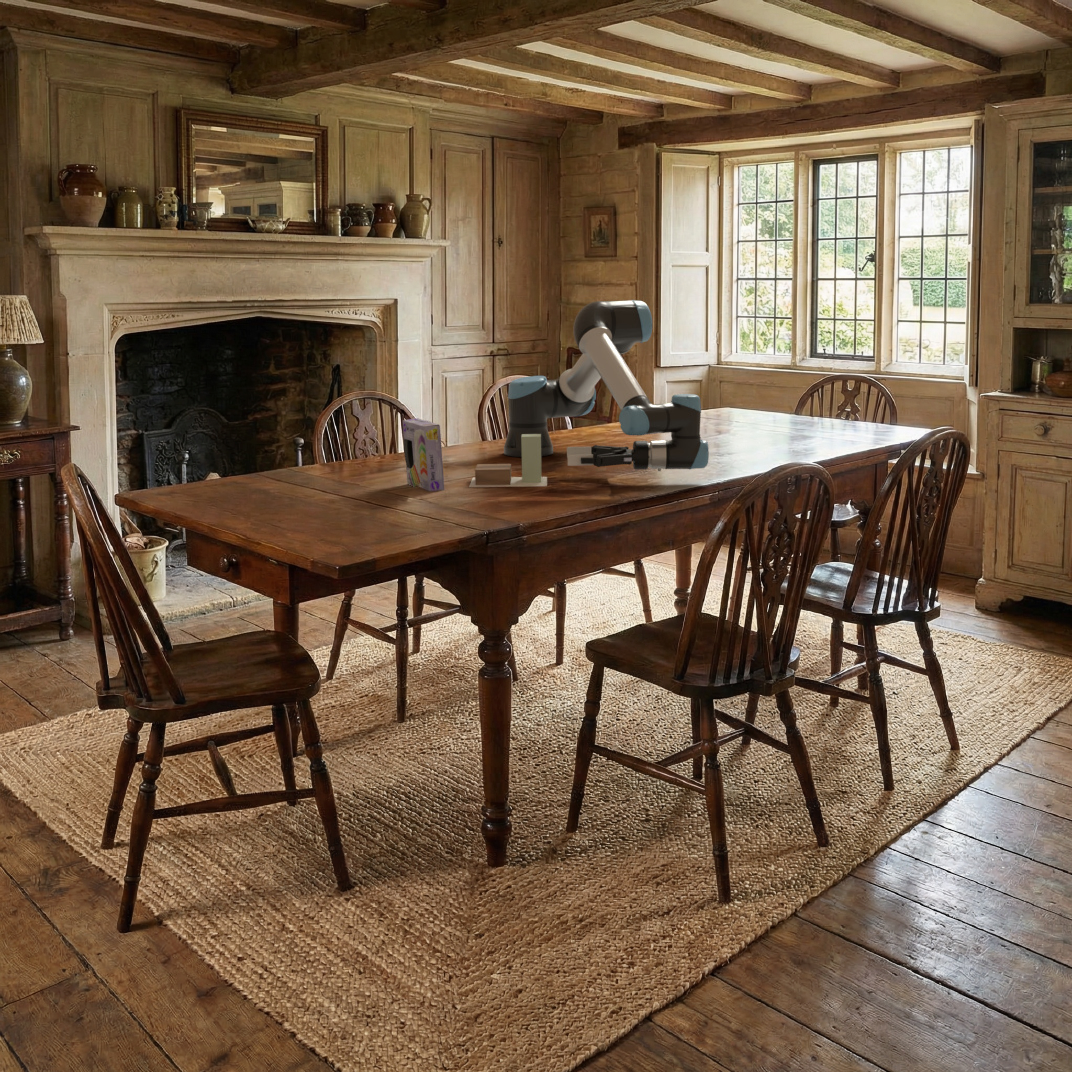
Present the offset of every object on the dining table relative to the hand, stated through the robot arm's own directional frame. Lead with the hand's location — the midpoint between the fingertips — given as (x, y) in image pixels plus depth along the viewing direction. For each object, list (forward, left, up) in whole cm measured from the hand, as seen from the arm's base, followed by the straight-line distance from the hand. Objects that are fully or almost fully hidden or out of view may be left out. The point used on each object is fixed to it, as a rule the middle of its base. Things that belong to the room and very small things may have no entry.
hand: (567, 456), depth 304 cm
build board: (+1, -15, -7) cm, 17 cm away
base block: (+1, -19, -6) cm, 20 cm away
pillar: (0, -9, -6) cm, 11 cm away
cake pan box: (+4, -37, -8) cm, 38 cm away
